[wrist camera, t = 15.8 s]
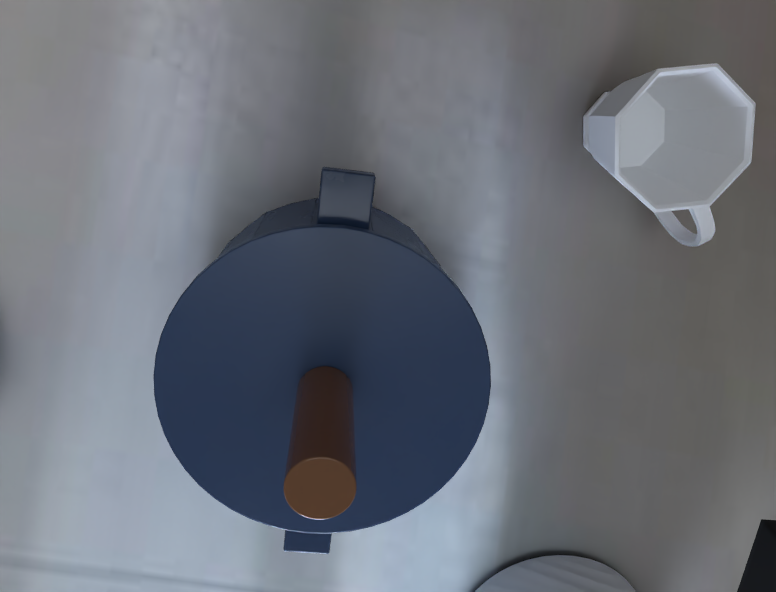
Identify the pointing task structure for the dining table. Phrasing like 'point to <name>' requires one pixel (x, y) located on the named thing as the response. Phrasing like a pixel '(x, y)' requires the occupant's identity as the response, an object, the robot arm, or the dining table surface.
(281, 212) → the pot
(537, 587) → the vase
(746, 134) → the cup
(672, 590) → the dining table surface
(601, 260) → the dining table surface
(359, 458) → the pot lid
